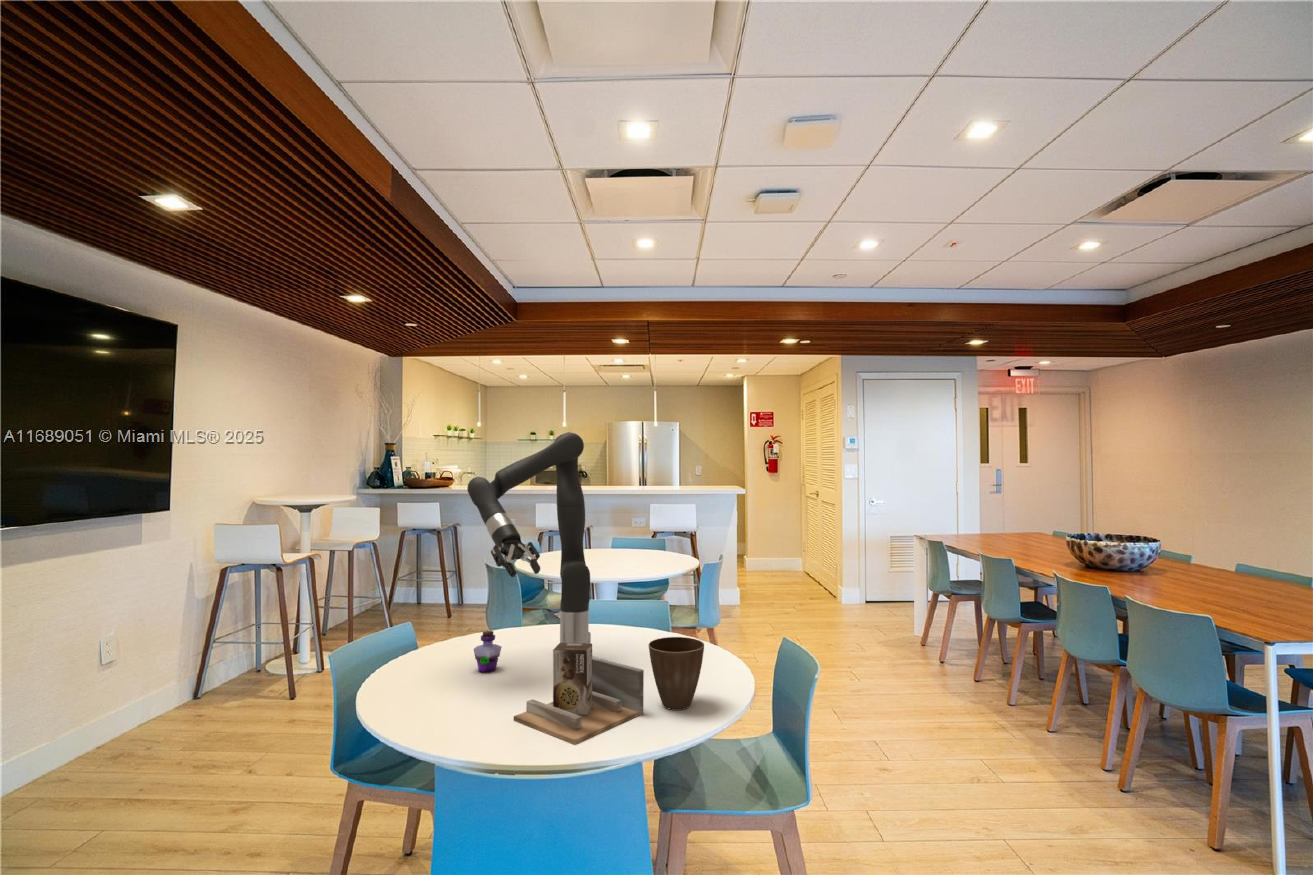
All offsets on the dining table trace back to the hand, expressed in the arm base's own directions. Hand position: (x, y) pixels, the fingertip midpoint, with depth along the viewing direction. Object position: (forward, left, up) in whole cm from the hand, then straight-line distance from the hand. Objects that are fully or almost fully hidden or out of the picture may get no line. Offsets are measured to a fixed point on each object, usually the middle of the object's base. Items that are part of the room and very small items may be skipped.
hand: (526, 573), depth 177 cm
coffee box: (+4, +24, -32) cm, 40 cm away
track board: (+4, +27, -33) cm, 42 cm away
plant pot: (-18, +41, -33) cm, 55 cm away
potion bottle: (-4, -23, -33) cm, 40 cm away
